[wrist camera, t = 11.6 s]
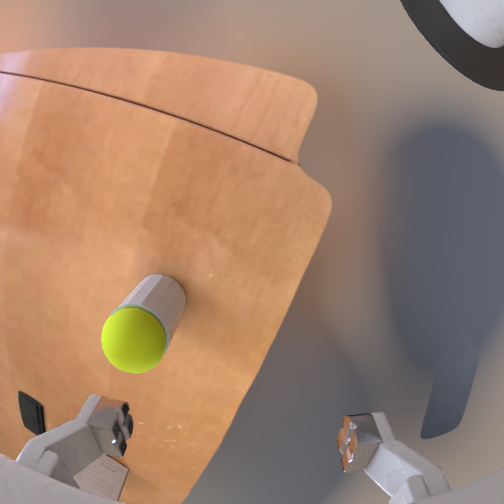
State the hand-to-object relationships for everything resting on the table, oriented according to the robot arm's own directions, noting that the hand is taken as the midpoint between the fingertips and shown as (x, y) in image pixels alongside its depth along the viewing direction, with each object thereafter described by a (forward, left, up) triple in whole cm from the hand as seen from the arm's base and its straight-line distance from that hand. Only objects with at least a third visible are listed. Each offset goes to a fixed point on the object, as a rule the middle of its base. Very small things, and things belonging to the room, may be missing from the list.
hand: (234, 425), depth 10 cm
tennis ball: (+8, -11, -17) cm, 22 cm away
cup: (+8, -11, -27) cm, 30 cm away
